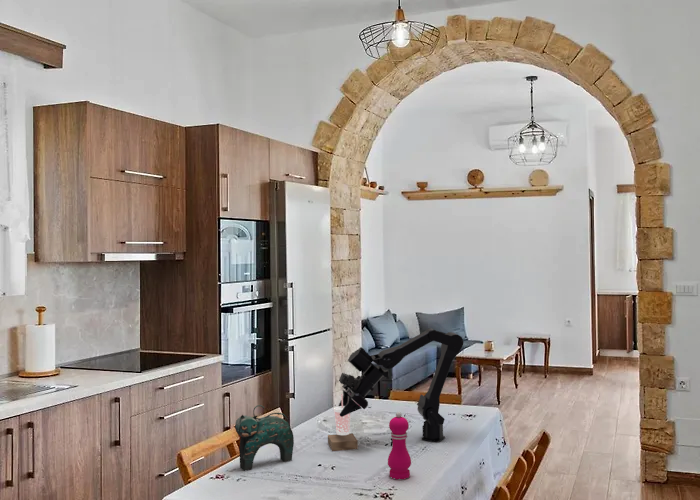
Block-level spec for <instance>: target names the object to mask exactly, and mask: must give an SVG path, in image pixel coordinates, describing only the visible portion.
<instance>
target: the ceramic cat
mask: <svg viewBox="0 0 700 500" xmlns="http://www.w3.org/2000/svg"><path fill="white" fill-rule="evenodd" d="M258 407H261V408H263V409H265V406H264V405H261V404H258V405H256V406H254V408H253V414H252V415H253V416H250V415H243V414H241V416H239V417H238V418H237V420H236V421H235V426H234V428H235V433H237V434H238V436H240V439H239V450H238V451H239V468H240V469H241V470H242V471H244V472H246V471H245V470H247V471H250V470H251V471H252V470H253V465H254V460H255V458H256V455H257V453H258V451H259V450H260V448H262V447H264V446H266V445H270V444H271V445H275V446H277V448H278V449H279V450H278V451H279V459H280V461H282V462H284V463H286V462H290V461H293V454H294V453H293V451H294V444H295V443H294V442H295V440H294V438H295V437H294V433H293V430H292V428H291V426H290V424H289V423H290V422H289V419H288V417H287V416H286V415H285V414H284V413H282V412H272V413H270V414H268V415H266V416H263V417H258V415H255V410H256V409H257V408H258ZM275 415H277V416H275ZM278 415H282V416H283V417H285V418H286V420H285V419H284V418H282V417H279V416H278Z"/></svg>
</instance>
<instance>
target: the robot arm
mask: <svg viewBox="0 0 700 500" xmlns="http://www.w3.org/2000/svg"><path fill="white" fill-rule="evenodd" d="M431 342H436V343H439V344H441V346H440V348H441V349H440V357H439V360H438V363H437V366H436V368H435V371H434V373H433V377H432V378H431V382H430V383H429V384H430V385H429V388H428V390H427V392H426V393H425V394H424V395H423V394H420V395H419V400H418V401H417V403H416V405H417V412H418V413H419V415H420V416H421V417H422V419H423V420H424V421H423V425H422V437H421V440H422V441H429V442H434V443H439V442H440V441H442V440H444V439H445V438H446V436H445V435H444V423H445V420H446V419H445V418H444V416H442V415H441V414H440V413H439V411H440V407H441V406H440V404H441V403H440V396H441V394H442V391H443V390H444V385H445V383H446V380H447V378H448V374H449V372H450V369H451V366H452V363H453V360H454V359H455V358H456V357H457V356H458V355H459V354H460V352H461V350H462V348H463V346H464V340H463V337H462V336H461V335H459V334H457V333H456V332H452V331H449V332H448V331H447V333H446V332H442V331H438V330H435V329H433V328H426V329H425V331H423V332H421V333H420V334H418V335H417V334H416V336H414V337H412V338H410V339H408V340H407V341H405V342H403V343H402V344H400V345H397V346H393V347H388V348H386V349H383V350H381V351H379V352H378V354H377V353H376V354H373V355H371V354H369V353H368V352H367V351H366V350H365V348H363V347H362V346H360V347H359V348H358V349H356V350H355V351H354V352H353V351H352V353H351V354H350V355H349V357H348V358H347V362H349V364H350V365H352V366H353V367H354V368H355V369H357V371H358V372H363V374H362V375H357V377H355V376H354V375H351V374H347V373H345V372H342V373H341V374H340V377H339V379H338V382H339V383H340V384H341V385H342V394H343V406H345V407H344V408H343V410H342V411H341V413H340V416H341V417H343V416H345V415H347V414H349V413H350V414H351V413H354V412H356V411H358V410H362V409H363V410H366V408H367V407H369V401H368V400H367V397H366V396H367V395H368V394H369V393H370V392H371V391H374V387H375V386H376V384H378V382H379V381H380V380H381V379H382V378H383V377H384V378H385V379H387V380H389V379H390V377H389V370H390V369H393V368H395V367H396V366H397V365H398V364H400V362H401V361H402V360H403V359H404V358H405V357H407V356H408V355H410V354H413V352H415V351H418V350H419V349H422V348H423V347H425V346H426V345H428V344H430V343H431ZM373 363H375V365H374V364H373ZM383 368H384V369H383ZM338 406H342V401H341V400H340V402H339V404H338ZM338 406H337V407H338Z"/></svg>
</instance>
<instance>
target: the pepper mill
mask: <svg viewBox="0 0 700 500" xmlns="http://www.w3.org/2000/svg"><path fill="white" fill-rule="evenodd" d="M402 415H403V414H402V413H401V412H400V411H397V412H396V413H395V417H392V418H391V419H390V420H389V422H388V423H389V424H388V428H389V430H390V431H391V432H390V438H391V440H392V447H391V449H390V453H389V455H388V458H387V465H388V467H389V468H390V469H389V470H388V471H389V477H390V478H391V477H392V478H391V479H393V478H395V479H394V480H398V479H402V480H406V478H407V479H408V478H410V476H411V474H410V473H411V470H410V469H409V468H410V467H411V465H412V458H411V456H410V454H409V451H408V449H407V442H406V439H408V432H407V431H408V430H409V428H410V427H409V425H410V424H409V421H408V420H407V418H405V417H403V416H402Z"/></svg>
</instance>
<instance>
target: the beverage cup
mask: <svg viewBox="0 0 700 500" xmlns="http://www.w3.org/2000/svg"><path fill="white" fill-rule="evenodd" d="M340 396H341V397H340V399H341V400H340V402H341V401H342V406H335V407H333V411H334V419H335V428H336V434H337V435H348V434H350V433H351V413H349V414H347V415H345V416H343V417H341V416H340V413H341V411H342V410H343V408H344V407H345V406H343V393H341V395H340Z"/></svg>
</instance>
